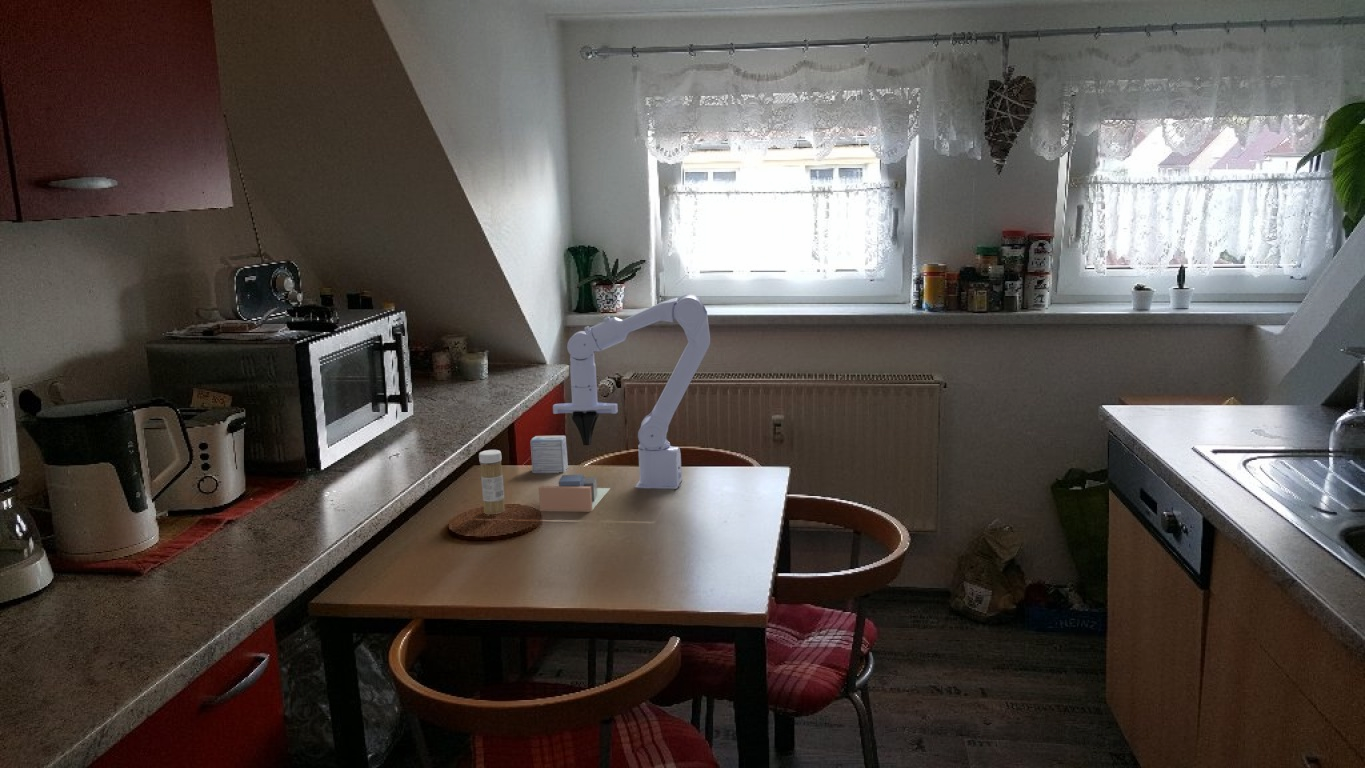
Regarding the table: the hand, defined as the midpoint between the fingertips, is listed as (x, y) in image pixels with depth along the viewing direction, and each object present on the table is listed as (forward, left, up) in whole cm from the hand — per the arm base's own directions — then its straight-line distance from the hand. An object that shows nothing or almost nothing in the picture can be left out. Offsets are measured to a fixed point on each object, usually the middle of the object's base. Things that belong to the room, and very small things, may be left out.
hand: (587, 444), depth 221 cm
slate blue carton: (-1, +16, -10) cm, 18 cm away
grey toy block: (0, +8, -8) cm, 11 cm away
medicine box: (+13, -12, -10) cm, 20 cm away
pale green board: (0, +11, -10) cm, 15 cm away
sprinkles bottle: (+15, +21, -10) cm, 28 cm away
